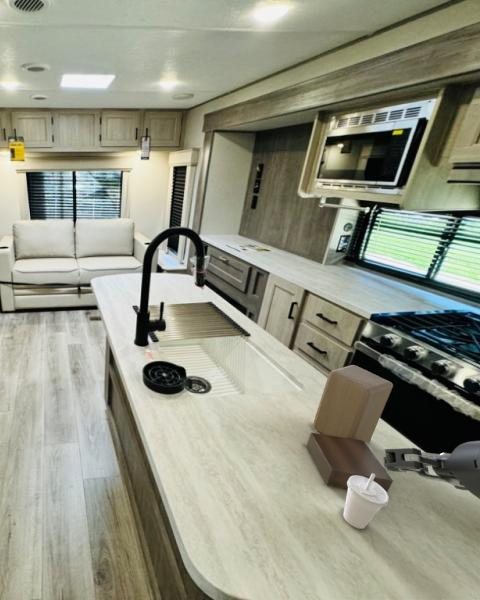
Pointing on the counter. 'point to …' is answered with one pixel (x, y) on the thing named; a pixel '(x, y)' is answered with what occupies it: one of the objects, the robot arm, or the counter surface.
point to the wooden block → (351, 403)
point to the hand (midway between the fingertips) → (420, 472)
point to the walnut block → (345, 460)
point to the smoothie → (363, 500)
